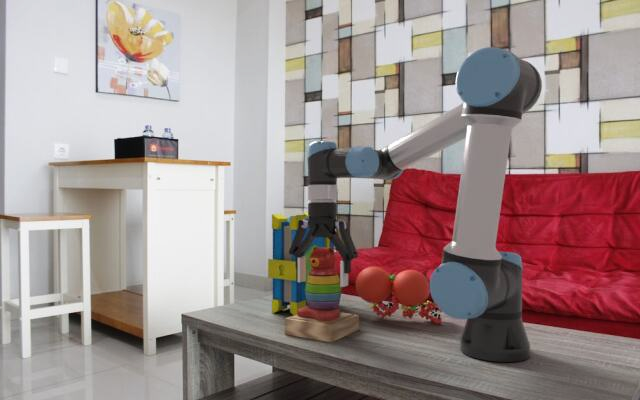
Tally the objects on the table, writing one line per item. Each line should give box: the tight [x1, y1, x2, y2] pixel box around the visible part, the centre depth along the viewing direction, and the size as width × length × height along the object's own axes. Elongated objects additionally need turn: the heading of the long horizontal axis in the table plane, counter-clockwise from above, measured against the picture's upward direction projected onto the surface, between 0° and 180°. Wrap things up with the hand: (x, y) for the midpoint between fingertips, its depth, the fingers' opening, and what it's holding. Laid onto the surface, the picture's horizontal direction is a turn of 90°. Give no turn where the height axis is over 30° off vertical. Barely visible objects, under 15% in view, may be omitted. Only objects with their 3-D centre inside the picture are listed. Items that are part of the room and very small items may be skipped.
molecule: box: [355, 266, 443, 325], centre depth 144 cm, size 25×11×15 cm, turn 76°
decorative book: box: [267, 212, 335, 316], centre depth 160 cm, size 14×23×30 cm, turn 145°
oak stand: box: [284, 311, 360, 343], centre depth 133 cm, size 14×14×4 cm
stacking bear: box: [297, 247, 342, 321], centre depth 133 cm, size 11×10×18 cm
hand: (322, 283), depth 133 cm, fingers open, 12 cm apart
